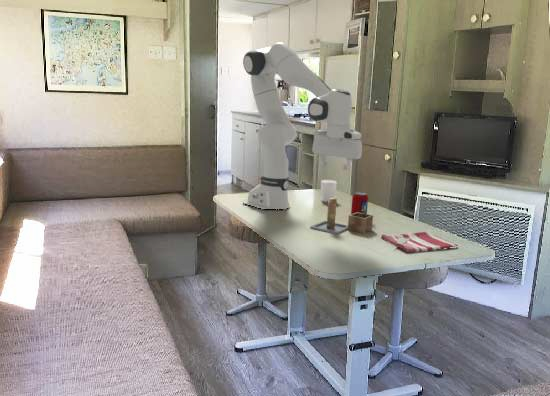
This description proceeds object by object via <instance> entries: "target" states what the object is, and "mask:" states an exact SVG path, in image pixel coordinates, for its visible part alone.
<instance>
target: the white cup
mask: <svg viewBox="0 0 550 396" xmlns="http://www.w3.org/2000/svg"><path fill="white" fill-rule="evenodd" d="M337 184H338V181H336V180H334V179H333V180H332V179H321V180H320V201H321V202H324V203H328V201H329V198H335V197H336V191H337Z"/></svg>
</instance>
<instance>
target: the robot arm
mask: <svg viewBox="0 0 550 396" xmlns="http://www.w3.org/2000/svg"><path fill="white" fill-rule="evenodd" d="M242 61H243V62H242V65H243V69H244V70H245V72H246V73H247V74H248V75H250V82H251V89H252V94H253V97H254V100H255V104H256V108H257V111H258V114H259V115H260V116H261V117H262V119H263V120H264V122H265V125H264V126H263V127H260V129H259V131H258V132H257V133H258V134H257V139H258V142H259V143H260V145H261V147H262V151H263V153H262V154H263V158H264V165H263V166H264V167H263V168H264V169H263V170H264V171H263V176H259V178H258V181H260V183H259V184H258V185H256V186H255V187H254V188H252V189H250V190H249V192H248V196H247V199H245V200H243V201H242V204H243V203H244V204H243V205H245V204H248V205H251V206H255V207H258V208H261V209H260V210H262V209H276V210H275V211H280V210H279V209H283V210H287V208H288V209H289V207H291V206H290V202H289V192H288V191H289V190H288V189H289V183H290V181H289V180H290V177H289V163H290V162H289V159H288V156H287V153H286V152H287V151H286V146H288V145H290V144H292V143H293V142H294V141H295V140H296V138H297V134H298V133H297V129H296V127H295V126H294V124H293V123H291V121H290V118H289V116H288V115H287V113H286V111H285V109H284V107H283V103H282V101H281V97H280V93H279V91H278V87H277V83H276V81H275V77H276V75H278V76H279V78H280V79H281V80H282V81H283V82H285V84H287V85H288V86H293V87H297V88H301V89H304V90H306V91H309V92H310V93H312V94H313V95H314V96H315V97H313V98H312V99H311V100H310V101H309V103H308V105H307V115H308V117H309V118H310V120H312V121H313V122H319V123H322V122H323V123H326V130H320V129H319V130H317V131H315V132H314V133H313V143H312V146H311V147H312V148H311V152H312V153H313V154H314V155H319V158H320V161H321V166H322V167H328V161H326V159H325V158H326V156H329V157H336V158H343V159H346V164H343V170H345V171H348V170H349V167H350V165H351V164H352V162H353V160H359V159H361V158H362V155H363V143H362V140H361V139H362V133H361V132H359V131H356V130H354V129H352V128H351V122H350V121H351V116H352V110H353V109H352V108H353V107H352V106H353V103H352V102H353V101H352V100H353V98H352V94H351V93H350V92H349V91H347V90H345V89H341V88H333V89H331V88H330V87H329V86H328V84H326V82H324V81H323V80H322V79H321V78H320V77H319V76H318V75H317V74H316V73H315V72H314V71H313V70H312V69H311V68H309V66H308V65H307V64H305V63H304V61H303V60H302V59H301V58H300V56H299V55H298V54H297V53H296V52H295V50H293V49H292V48H291V47H290V46H289V45H287V44H286V43H285V42H276V43H274V44H273V45H272V46H266V47H263V48H260V49H259V48H258V49H252V50H250V51H248V52H246V53H245V54H244V56H243V60H242ZM248 205H247V206H248ZM251 206H250V207H251ZM255 207H254V208H255ZM258 208H257V209H258ZM277 209H278V210H277Z"/></svg>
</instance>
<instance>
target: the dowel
mask: <svg viewBox="0 0 550 396" xmlns="http://www.w3.org/2000/svg"><path fill="white" fill-rule="evenodd" d="M337 200H338V199H337V198H329V201H328V202H327V203H328V204H327V214H326V215H327V216H326V221H327V228H328V229H334V228H335V223H336V213H337V202H338V201H337Z"/></svg>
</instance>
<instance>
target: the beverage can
mask: <svg viewBox="0 0 550 396" xmlns="http://www.w3.org/2000/svg"><path fill="white" fill-rule="evenodd" d="M351 198H352V200H351V209H350V215H351V214H353V213H356V212H359V213H364V214H368V204H369V196H368V193H367V192H364V191H354V192H353V195H352V197H351Z"/></svg>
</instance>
